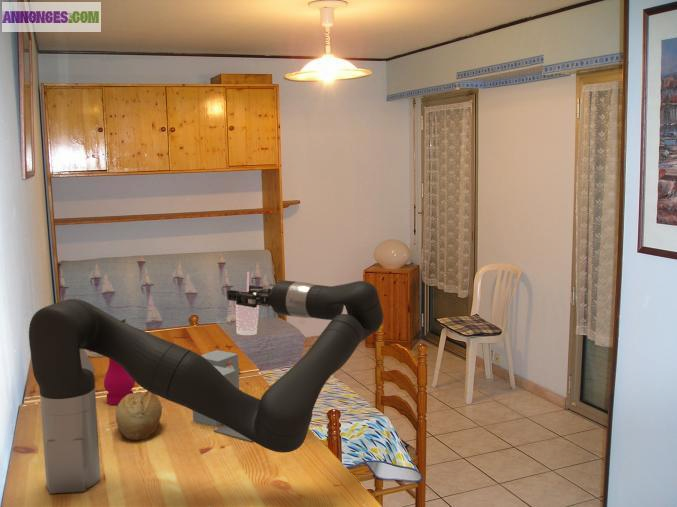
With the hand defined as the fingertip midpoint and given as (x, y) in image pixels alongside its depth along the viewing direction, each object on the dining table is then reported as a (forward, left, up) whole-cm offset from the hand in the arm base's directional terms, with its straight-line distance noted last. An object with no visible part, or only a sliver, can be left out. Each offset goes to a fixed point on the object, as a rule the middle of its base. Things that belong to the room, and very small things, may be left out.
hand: (238, 292), depth 158 cm
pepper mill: (+10, +30, -28) cm, 42 cm away
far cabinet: (+8, +6, -28) cm, 29 cm away
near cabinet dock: (-9, +1, -28) cm, 29 cm away
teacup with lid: (+54, +43, -28) cm, 74 cm away
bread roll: (-9, +22, -28) cm, 37 cm away
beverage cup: (-2, -2, -9) cm, 10 cm away
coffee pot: (+28, +41, -28) cm, 57 cm away
